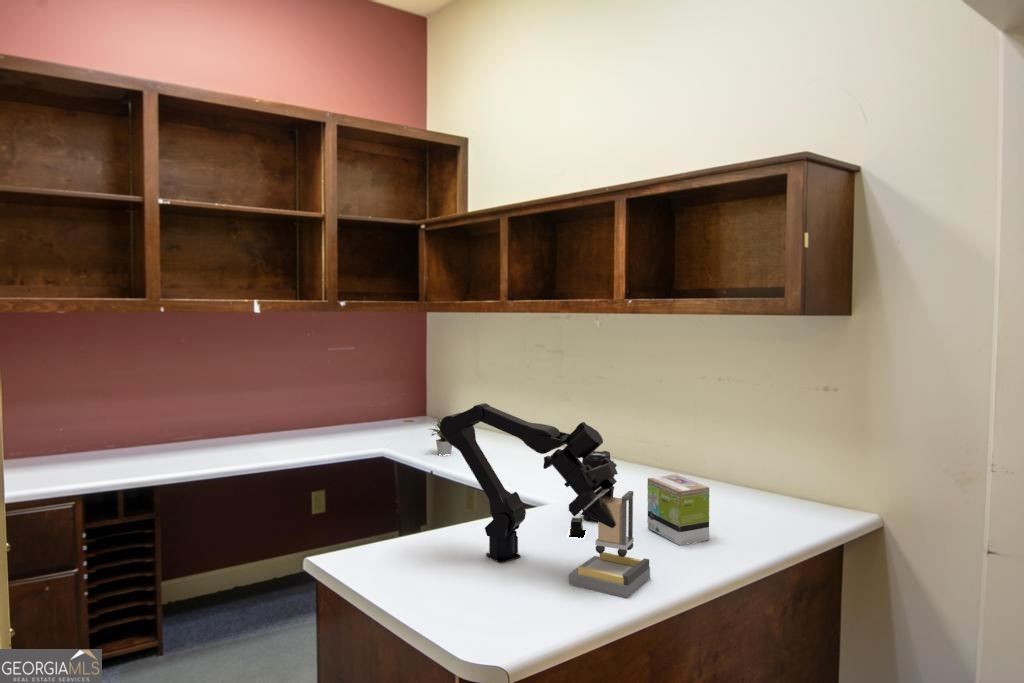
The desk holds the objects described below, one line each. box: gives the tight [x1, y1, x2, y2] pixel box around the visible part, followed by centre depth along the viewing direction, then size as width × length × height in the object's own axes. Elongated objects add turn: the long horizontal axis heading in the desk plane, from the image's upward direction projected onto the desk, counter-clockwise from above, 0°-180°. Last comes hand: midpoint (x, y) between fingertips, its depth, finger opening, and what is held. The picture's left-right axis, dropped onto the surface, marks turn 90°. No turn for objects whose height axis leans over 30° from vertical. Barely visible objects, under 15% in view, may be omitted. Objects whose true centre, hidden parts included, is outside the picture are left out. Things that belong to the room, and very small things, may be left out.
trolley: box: [595, 490, 635, 557], centre depth 162 cm, size 7×6×14 cm
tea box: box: [647, 474, 710, 546], centre depth 190 cm, size 15×10×15 cm, turn 23°
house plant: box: [428, 418, 453, 455], centre depth 295 cm, size 14×14×16 cm
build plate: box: [569, 517, 586, 538], centre depth 192 cm, size 12×7×5 cm, turn 170°
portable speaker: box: [581, 450, 614, 521], centre depth 205 cm, size 9×9×20 cm
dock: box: [568, 551, 651, 599], centre depth 159 cm, size 14×13×4 cm
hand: (617, 523), depth 161 cm, fingers closed on trolley, 5 cm apart
